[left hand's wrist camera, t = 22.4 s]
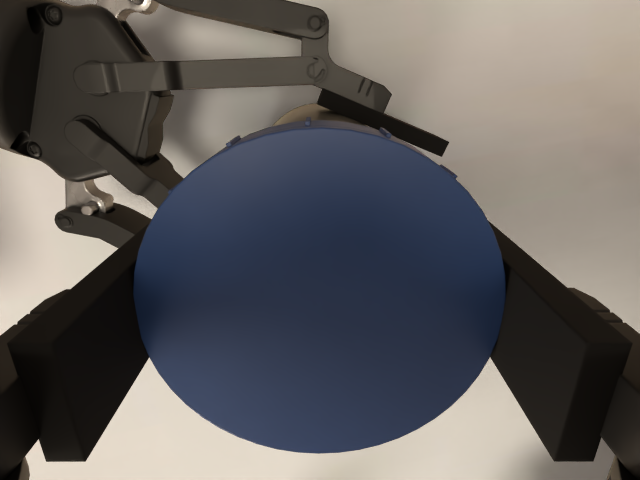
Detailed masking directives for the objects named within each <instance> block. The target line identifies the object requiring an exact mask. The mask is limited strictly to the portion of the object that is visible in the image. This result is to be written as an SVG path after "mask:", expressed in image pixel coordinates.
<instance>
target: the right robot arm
mask: <svg viewBox="0 0 640 480" xmlns="http://www.w3.org/2000/svg"><path fill="white" fill-rule="evenodd" d="M159 3H160V4H162V5H164V6H166V7H169V8H171V9H173V10H176V11H179V12H183V13H186V14H191V15H195V16H199V17H204V18H208V19H212V20H217V21H221V22H225V23H230V24H234V25H239V26H243V27H247V28H252V29H256V30H260V31H265V32H269V33H273V34H278V35H282V36H286V37H291V38H295V39H300V40H302V56H299V57H273V58H248V59H222V60H196V61H154V59H153V58H152V57H151V55H150V54H149V52H148V51H147V50H146V48H145V47H144V45H143V44H142V43H141V41H140V40H139V38H138V37H137V36H136V34H135V33H134V31H133V30H132V29H131V27H130V26H129V24H128V23H127V22H126V18H127V17H128V15H130V14H131V13H134V12H139V13H142V14H145V15H150V14H152V13H154V12H155V11H156V9H157V8H158V5H159ZM328 30H329V20H328V17H327V15H326V13H325V12H324V11H323V10H321V9H319V8H316V7H311V6H307V5H303V4H299V3H295V2H290V1H286V0H98V1H97V3H96V5H92V4H88V5H82V6H72V5H69V4H67V3H64V2H62V1H59V0H0V148H2V149H5V150H8V151H10V152H13V153H16V154H20V155H23V156H27V157H31V158H34V159H37V160H40V161H42V162H43V163H45V164H47V165H48V166H49V167H50V168H52V169H53V170H54V171H55V172H56V173H57V174H58V175H59V176H61V177H62V178H64V179H65V188H66V208H65V209H64V210H62V211H60V212H58V213H57V214H56V215H55V223H56V225H57V226H58V228H60V229H61V230H62V231H65V232H68V233H73V234H79V235H84V236H89V237H95V238H100V239H101V240H103V241H105V242H107V243H109V244H111V245H113V246H115V247H117V248H120V247H121V246H122V245H123V244H125V243H126V242H127V241H128V240H129V239H131V238H132V237H133V236H134V235H135V234H136V233H138V232H139V231H140V230H141V229H142V228H144V227H145V226H146V225H147V224H148V223H149V222H151V220H152V219H150V218H148V217H146V216H144V215H143V214H141V213H139V212H137V211H135V210H133V209H131V208H129V207H126V206H124V205H121V204H117V203H113V200H114V199H113V196H112V195H111V194H108V193H105V192H103V191H101V190H99V189H98V188H97V187H96V185H95V183H94V179H96V178H99V177H103V176H107V175H112V176H113V177H114V178H115V179H117V180H118V181H119V182H120V183H121V184H122V185H124V186H125V187H126V188H127V189H128V190H130V191H131V192H132V193H134V194H136V195H140V196H143V197H145V198H146V199H147V200H149V201H150V202H151V203H152V204H153V205H154V206H156V207H157V208H159V207H160V205H161V204H162V203H163V201H164V200H165V199H166V198H167V196H168V195H169V194H168V192H169V190H170V189H172V188H173V187H174V186H176V185H177V184H178V183H180V182H181V181H182V180H183V179H184V178H182V177H181V176H180V175H179V174H178V173H177V172H176V171H175V170H174V168H173V165H172V164H171V163H170V162H169V161H168V160H167V159H166V158H165V157H164V156H163V155H162V154H161V153H160V148H161V145H162V141H163V121H164V120H165V118H166V116H167V115H168V113H169V111H170V109H171V105H172V101H173V97H174V95H171V94H170V90H183V89H210V88H236V87H263V86H289V85H314V86H317V87H319V88H321V89H322V91H321V94H320V96H319V99H318V102H317V105H320V106H322V107H324V108H327V109H329V110H331V111H334V112H336V113H339V114H341V115H343V116H346V117H348V118H351V119H353V120H355V121H358V122H360V123H362V124H365V125H367V126H370V127H372V128H374V129H377V130H380V127H382V128H384V129H386V130H387V131H388V132H389V133H391V134H392V136H394V137H396V138H398V139H401V140H403V141H405V142H408V143H410V144H413V145H415V146H417V147H420V148H422V149H424V150H427V151H429V152H432V153H434V154H436V155H439V156H441V157H442V155H443V153H444V151H445V149H446V147H447V145H448V143H449V142H448V141H446V140H444V139H442V138H440V137H438V136H436V135H433V134H431V133H429V132H426V131H424V130H422V129H419V128H417V127H415V126H412V125H410V124H408V123H405V122H403V121H401V120H398V119H396V118H394V117H391V116H389V115H387V114H384V111H385V109H386V106H387V104H388V102H389V99H390V97H391V95H392V94H391V93H390V92H389V91H388V90H387V89H386V88H385V86H383V85H381V84H378V83H376V82H374V81H372V80H369V79H367V78H365V77H362V76H360V75H358V74H356V73H353V72H351V71H349V70H346V69H344V68H342V67H339V66H338V65H336V64H335V63H334V62H333V61H332V60H331V58H330V57H329V53H328Z"/></svg>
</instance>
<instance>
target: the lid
mask: <svg viewBox="0 0 640 480" xmlns="http://www.w3.org/2000/svg"><path fill="white" fill-rule="evenodd" d="M226 145H227V146H226V147H225V148H224V149H222V150H221V151H219V152H218V153H216V154H215V155H214V156H212V157H211V158H209V159H208V160H207V161H205V162H204V163H203V164H201V165H200V166H198V167H197V168H196V169H194V170H193V171H192V172H191V173H190V174H188V175H187V176H186V177H185V178H184V179H183V180H182V181H181V182H180V183H178V184H177V185H176V186H174V187H173V188H172V189H170V190H169V192H168V194H169V195H168V196H167V198H166V199H165V200H164V201H163V203H162V204H161V205H160V207H159V208H158V210H157V211H156V213H155V215H154V217H153V218H152V220H151V222H150V224H149V226H148V227H147V229H146V232H145V235H144V237H143V240H142V243H141V245H140V248H139V251H138V256H137V261H136V266H135V271H134V286H133V297H134V302H135V308H136V314H137V319H138V324H139V329H140V334H141V339H142V341H143V344H144V346H145V348H146V351H147V353H148V356H149V357H150V359H151V361H152V362H153V364H154V366H155V368H156V369H157V371H158V373H159V374H160V375H161V377H162V378H163V379H164V381H165V382H166V383H167V385H168V386H169V387H170V388H171V390H172V391H173V392H174V393H175V394H176V395H177V396H178V397H179V398H180V399H181V400H182V401H183V402H184V403H185V404H186V405H187V406H189V407H190V408H191V409H193V410H194V411H195V412H196V413H198V414H199V415H200V416H201V417H203V418H204V419H206V420H207V421H209V422H211V423H212V424H214V425H215V426H217V427H219V428H220V429H222V430H225V431H227V432H229V433H231V434H233V435H235V436H237V437H239V438H242V439H245V440H247V441H250V442H253V443H256V444H259V445H263V446H267V447H270V448H274V449H279V450H286V451H292V452H301V453H339V452H347V451H354V450H360V449H364V448H368V447H373V446H377V445H380V444H383V443H386V442H389V441H392V440H395V439H397V438H400V437H402V436H404V435H406V434H408V433H410V432H413V431H415V430H417V429H419V428H420V427H422V426H424V425H425V424H427V423H428V422H430V421H432V420H433V419H435V418H436V417H438V416H439V415H440V414H441V413H443V412H444V411H445V410H447V409H448V408H449V407H450V406H452V405H453V404H454V403H455V402H456V401H457V400H458V399H459V398H460V397H461V396H462V395H463V394H464V393H465V392H466V391H467V389H468V388H469V387H470V386H471V384H472V383H473V382H474V381H475V379H476V378H477V377H478V376H479V374H480V372H481V371H482V369H483V368H484V366H485V364H486V363H487V361H488V359H489V358H490V355H491V353H492V351H493V348H494V346H495V344H496V341H497V339H498V336H499V331H500V326H501V321H502V316H503V310H504V305H505V299H506V286H505V271H504V266H503V260H502V255H501V251H500V249H499V246H498V243H497V240H496V237H495V234H494V231H493V230H492V228H491V226H490V224H489V222H488V220H487V218H486V216H485V215H484V213H483V211H482V210H481V208H480V207H479V206H478V204H477V203H476V202H475V200H474V199H473V198H472V196H471V195H470V194H469V192H468V191H467V190H466V189H465V188H464V187H463V186H462V185H461V184H460V183H459V182H458V181H457V180H456V178H457V176H456V175H455V174H454V173H453V172H451V171H450V170H449V169H447V168H446V167H444V166H443V165H440V166H439V165H438V164H436V163H435V162H434V161H432V160H431V159H429V158H428V157H427V156H425V155H424V154H423V153H421V152H420V151H418V150H417V149H416V148H414V147H413V146H411V145H409V144H407V143H406V142H404V141H402V140H400V139H398V138H396V137H394V136H392V134H391V133H389V132H388V131H387V130H386V129H384V128H382V127H380V130H376V129H373V128H371V127H367V126H362V125H358V124H353V123H348V122H340V121H327V120H313V121H311V117H306V120H305V121H296V122H291V123H286V124H281V125H276V126H272V127H269V128H266V129H263V130H260V131H257V132H254V133H252V134H249V135H247V136H245V137H243V138H240V136H237V137H235V138H234V139H232V140H231V141H229V142H228V143H227V144H226Z"/></svg>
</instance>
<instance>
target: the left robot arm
mask: <svg viewBox="0 0 640 480" xmlns="http://www.w3.org/2000/svg"><path fill="white" fill-rule="evenodd" d="M488 222H489V221H488ZM149 224H150V222H149V223H148V224H147V225H146V226H145V227H144V228H142V229H141V230H140V231H139V232H138V233H136V234H135V235H134V236H133V237H132V238H131V239H129V240H128V241H127V242H126V243H125V244H123V245H122V246H121V247H120V248H119V249H118V250H116V251H115V252H114V253H113V254H112V255H110V256H109V257H108V258H107V259H106V260H105V261H103V262H102V263H101V264H100V265H99V266H97V267H96V268H95V269H94V270H93V271H92V272H90V273H89V274H88V275H87V276H86V277H85V278H83V279H82V280H81V281H80V282H79V283H77V284H76V285H75V286H74V287H73V288H72V289H66V290H64V291H62V292H60V293H58V294H56V295H54V296H52V297H50V298H48V299H46V300H44V301H43V302H42V303H40V304H39V305H38V306H37V307H35V308H34V309H33V310H32V311H30V314H27V315H26V316H24V317H23V318H22V319H21V320H19V321H18V324H17V325H13V326H12V327H11V328H9V329H8V330H7V331H6V332H4V333H3V334H2V335H1V336H0V480H29V476H30V473H29V466H28V463H27V460H26V458H25V456H26V454H27V453H28V452H29V451H30V449H31V448H32V447H33V445H34V444H35V443H36V442H37V440H38V439H39V441H40V444H41V447H42V450H43V453H44V456H45V459H46V462H60V461H86V460H87V458H88V457H89V455H90V453H91V452H92V450H93V448H94V447H95V445H96V443H97V442H98V440H99V439H100V437H101V435H102V434H103V432H104V430H105V429H106V427H107V425H108V424H109V422H110V421H111V419H112V417H113V416H114V414H115V412H116V411H117V409H118V407H119V406H120V404H121V403H122V401H123V399H124V398H125V396H126V394H127V393H128V391H129V389H130V388H131V386H132V385H133V383H134V381H135V380H136V378H137V376H138V375H139V373H140V371H141V370H142V368H143V367H144V365H145V363H146V362H147V360H148V358H149V356H148V353H147V351H146V348H145V346H144V344H143V341H142V339H141V334H140V329H139V324H138V319H137V314H136V308H135V302H134V297H133V286H134V271H135V266H136V261H137V256H138V251H139V248H140V245H141V243H142V240H143V237H144V235H145V232H146V229H147V227H148V226H149ZM489 224H490V226H491V228H492V230H493V231H494V234H495V237H496V240H497V243H498V246H499V249H500V251H501V255H502V260H503V266H504V271H505V286H506V299H505V305H504V310H503V316H502V321H501V326H500V331H499V336H498V339H497V341H496V344H495V346H494V348H493V351H492V353H491V355H490V357H491V359H492V361H493V362H494V364H495V366H496V367H497V369H498V370H499V372H500V374H501V375H502V377H503V379H504V380H505V382H506V384H507V385H508V387H509V388H510V390H511V392H512V393H513V395H514V397H515V398H516V400H517V402H518V403H519V405H520V406H521V408H522V410H523V411H524V413H525V415H526V416H527V418H528V420H529V421H530V423H531V424H532V426H533V428H534V429H535V431H536V433H537V434H538V436H539V438H540V439H541V441H542V442H543V444H544V446H545V447H546V449H547V451H548V452H549V454H550V456H551V457H552V459H553V460H554V461H594V458H595V455H596V452H597V449H598V446H599V443H600V440H601V437H602V438H603V440H604V441H605V442H606V444H607V445H608V446H609V447H610V449H611V450H612V451H613V452H614V454H615V458H614V460H613V463H612V466H611V469H610V472H609V474H608V477H607V480H640V334H639V333H638V332H637V331H635V330H634V329H633V328H632V327H630V326H629V325H628V324H627V323H623V322H622V319H620V318H619V317H618V316H617V315H615V314H614V313H610V310H609V309H608V308H607V307H605V306H604V305H603V304H602V303H600V302H599V301H598V300H597V299H595V298H594V297H591V296H589V295H587V294H585V293H583V292H581V291H579V290H577V289H575V288H567V287H566V286H565V285H563V284H562V283H561V282H560V281H559V280H557V279H556V278H555V277H554V276H553V275H552V274H550V273H549V272H548V271H547V270H546V269H544V268H543V267H542V266H541V265H540V264H539V263H537V262H536V261H535V260H534V259H533V258H531V257H530V256H529V255H528V254H527V253H526V252H524V251H523V250H522V249H521V248H520V247H518V246H517V245H516V244H515V243H514V242H513V241H511V240H510V239H509V238H508V237H507V236H505V235H504V234H503V233H502V232H501V231H500V230H498V229H497V228H496V227H495V226H494V225H492V224H491V223H490V222H489Z"/></svg>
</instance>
